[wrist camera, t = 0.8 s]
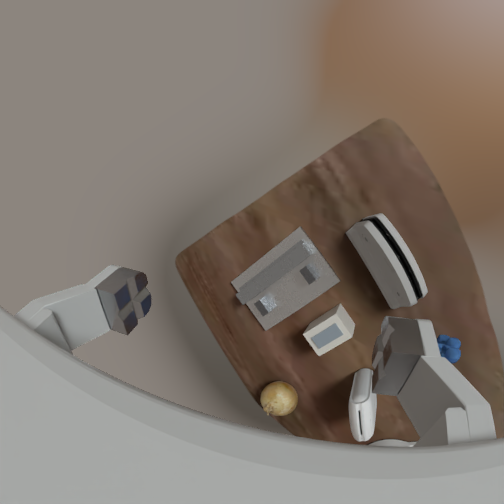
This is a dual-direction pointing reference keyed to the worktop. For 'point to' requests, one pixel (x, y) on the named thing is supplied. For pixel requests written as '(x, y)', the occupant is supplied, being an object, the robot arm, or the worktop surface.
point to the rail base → (285, 279)
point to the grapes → (449, 348)
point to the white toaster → (388, 260)
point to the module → (329, 330)
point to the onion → (279, 398)
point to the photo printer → (362, 405)
